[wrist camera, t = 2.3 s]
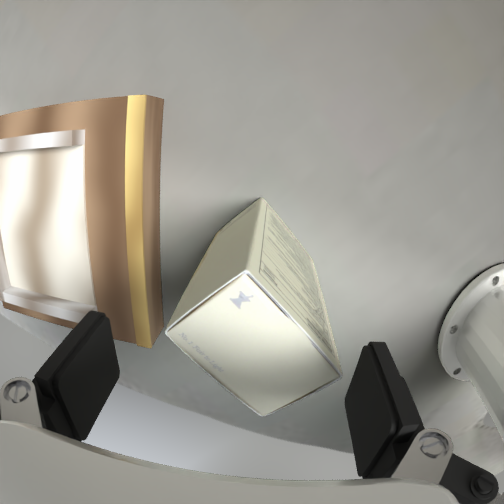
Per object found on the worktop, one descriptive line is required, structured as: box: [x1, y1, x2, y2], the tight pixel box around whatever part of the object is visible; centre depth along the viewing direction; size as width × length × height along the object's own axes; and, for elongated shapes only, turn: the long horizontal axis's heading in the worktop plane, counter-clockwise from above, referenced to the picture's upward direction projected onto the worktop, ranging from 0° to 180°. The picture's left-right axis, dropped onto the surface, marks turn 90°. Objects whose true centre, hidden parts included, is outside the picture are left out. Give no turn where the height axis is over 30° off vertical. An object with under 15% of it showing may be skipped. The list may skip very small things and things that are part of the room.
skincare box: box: [165, 198, 342, 417], centre depth 17 cm, size 6×4×12 cm
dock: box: [0, 95, 164, 348], centre depth 21 cm, size 17×18×4 cm
